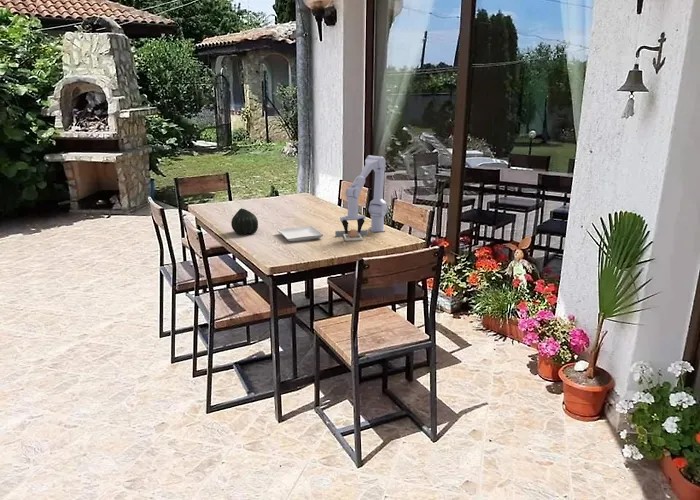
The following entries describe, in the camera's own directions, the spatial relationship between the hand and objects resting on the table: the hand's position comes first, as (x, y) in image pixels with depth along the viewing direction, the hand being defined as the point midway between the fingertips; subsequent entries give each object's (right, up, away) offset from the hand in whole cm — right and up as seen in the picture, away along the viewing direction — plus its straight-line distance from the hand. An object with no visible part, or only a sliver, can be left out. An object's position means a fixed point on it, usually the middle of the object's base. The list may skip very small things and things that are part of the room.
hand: (352, 232), depth 298 cm
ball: (0, -1, 0) cm, 1 cm away
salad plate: (-30, -3, +4) cm, 30 cm away
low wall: (-1, -2, +7) cm, 7 cm away
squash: (-62, 0, +11) cm, 63 cm away
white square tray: (0, -3, +1) cm, 3 cm away
